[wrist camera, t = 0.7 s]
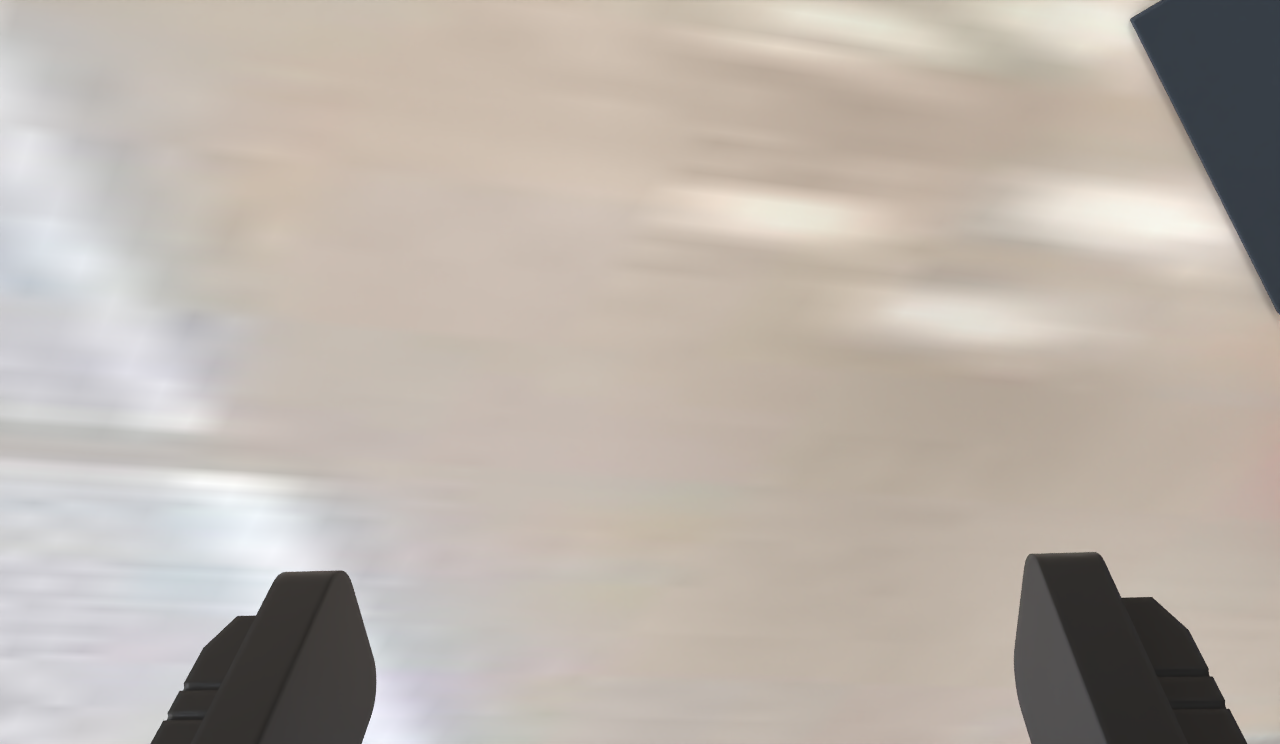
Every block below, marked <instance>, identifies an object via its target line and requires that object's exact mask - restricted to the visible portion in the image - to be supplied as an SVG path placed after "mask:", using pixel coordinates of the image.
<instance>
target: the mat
mask: <svg viewBox="0 0 1280 744" xmlns="http://www.w3.org/2000/svg"><path fill="white" fill-rule="evenodd" d="M1130 21H1131V23H1132V25H1133V27H1134V29H1135V31H1136V33H1137V34H1138V36H1139V38H1140V40H1141V42H1142V44H1143V46H1144V48H1145V50H1146V52H1147V54H1148V56H1149V58H1150V60H1151V62H1152V64H1153V66H1154V68H1155V70H1156V72H1157V74H1158V76H1159V78H1160V80H1161V82H1162V84H1163V86H1164V88H1165V90H1166V92H1167V94H1168V96H1169V98H1170V100H1171V102H1172V104H1173V106H1174V108H1175V110H1176V112H1177V114H1178V116H1179V118H1180V120H1181V122H1182V124H1183V126H1184V128H1185V130H1186V132H1187V134H1188V136H1189V138H1190V140H1191V142H1192V144H1193V146H1194V148H1195V150H1196V152H1197V154H1198V156H1199V158H1200V160H1201V162H1202V164H1203V166H1204V168H1205V170H1206V172H1207V174H1208V176H1209V177H1210V179H1211V181H1212V183H1213V185H1214V187H1215V189H1216V191H1217V193H1218V195H1219V197H1220V199H1221V201H1222V203H1223V205H1224V207H1225V209H1226V211H1227V213H1228V215H1229V217H1230V219H1231V221H1232V223H1233V225H1234V227H1235V229H1236V231H1237V233H1238V235H1239V237H1240V239H1241V241H1242V243H1243V245H1244V247H1245V249H1246V251H1247V253H1248V255H1249V257H1250V259H1251V261H1252V263H1253V265H1254V267H1255V269H1256V271H1257V273H1258V275H1259V277H1260V279H1261V281H1262V283H1263V285H1264V287H1265V289H1266V291H1267V293H1268V295H1269V297H1270V299H1271V301H1272V303H1273V305H1274V307H1275V309H1276V311H1277V312H1278V313H1279V314H1280V0H1161V1H1159V2H1158V3H1156V4H1154V5H1153V6H1151V7H1149V8H1148V9H1146V10H1144V11H1143V12H1141V13H1139V14H1138V15H1136V16H1134V17H1133V18H1131V19H1130Z"/></svg>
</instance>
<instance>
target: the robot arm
mask: <svg viewBox="0 0 1280 744" xmlns="http://www.w3.org/2000/svg"><path fill="white" fill-rule="evenodd" d="M1208 670H1209V669H1208V667H1207V665H1206V663H1205V661H1204V659H1203V657H1202V655H1201V653H1200V651H1199V649H1198V647H1197V645H1196V643H1195V642H1194V640H1193V638H1192V636H1191V634H1190V632H1189V630H1188V629H1187V628H1186V627H1184V626H1183V625H1182V624H1181V623H1180V622H1179V621H1178V620H1177V619H1176V618H1174V617H1173V616H1172V615H1171V614H1170V613H1169V612H1168V611H1167V610H1166V609H1164V608H1163V607H1162V606H1161V605H1160V604H1159V603H1158V602H1157V601H1156V600H1154V599H1153V598H1152V597H1137V598H1121V596H1120V594H1119V592H1118V590H1117V588H1116V585H1115V583H1114V581H1113V579H1112V577H1111V575H1110V572H1109V570H1108V568H1107V566H1106V564H1105V562H1104V560H1103V558H1102V557H1101V555H1100V554H1098V553H1096V552H1083V553H1046V554H1029V555H1028V557H1027V559H1026V562H1025V566H1024V574H1023V582H1022V590H1021V599H1020V607H1019V615H1018V624H1017V632H1016V640H1015V649H1014V672H1015V682H1016V689H1017V695H1018V700H1019V704H1020V708H1021V711H1022V714H1023V718H1024V721H1025V724H1026V727H1027V731H1028V734H1029V737H1030V740H1031V744H1247V742H1246V740H1245V738H1244V736H1243V735H1242V733H1241V731H1240V729H1239V727H1238V725H1237V723H1236V721H1235V719H1234V717H1233V715H1232V713H1231V711H1230V709H1226V707H1225V700H1224V698H1223V696H1222V694H1221V692H1220V690H1219V688H1218V686H1217V684H1216V682H1215V680H1214V678H1213V677H1210V676H1209V672H1208ZM375 695H376V668H375V662H374V658H373V654H372V651H371V647H370V644H369V640H368V637H367V633H366V630H365V627H364V623H363V620H362V616H361V613H360V609H359V606H358V603H357V599H356V596H355V592H354V589H353V586H352V583H351V580H350V578H349V576H348V575H347V573H346V572H344V571H307V572H283V573H281V574H279V575H278V576H277V577H276V579H275V580H274V582H273V584H272V586H271V588H270V590H269V591H268V593H267V595H266V597H265V599H264V601H263V603H262V605H261V607H260V609H259V611H258V613H257V615H256V616H237V617H236V618H235V619H234V620H233V621H232V622H231V623H229V624H228V625H227V626H226V627H225V628H224V629H223V630H222V631H221V632H220V633H219V634H218V635H217V636H216V637H215V638H214V639H212V640H211V641H210V642H209V643H208V644H207V645H206V646H205V647H204V648H203V650H202V652H201V653H200V655H199V657H198V659H197V661H196V662H195V664H194V666H193V668H192V670H191V672H190V673H189V675H188V677H187V679H186V681H185V682H184V690H183V691H179V693H178V695H177V697H176V699H175V701H174V702H173V704H172V706H171V708H170V710H169V711H168V719H167V721H163V722H162V724H161V726H160V728H159V730H158V731H157V733H156V735H155V737H154V739H153V740H152V742H151V744H362V741H363V738H364V735H365V732H366V729H367V726H368V723H369V721H370V718H371V715H372V711H373V707H374V702H375Z"/></svg>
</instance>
